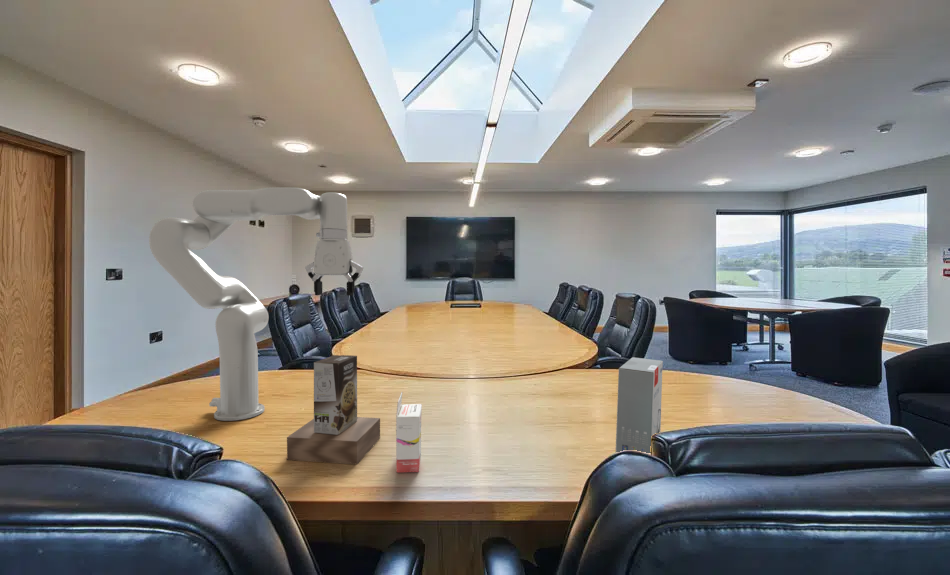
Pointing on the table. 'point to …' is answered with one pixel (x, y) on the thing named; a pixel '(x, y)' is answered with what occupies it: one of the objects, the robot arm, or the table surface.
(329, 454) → the walnut plinth
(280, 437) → the table surface
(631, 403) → the hard drive box
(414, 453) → the ink cartridge box
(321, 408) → the chocolate food box
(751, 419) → the table surface
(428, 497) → the table surface
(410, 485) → the table surface
